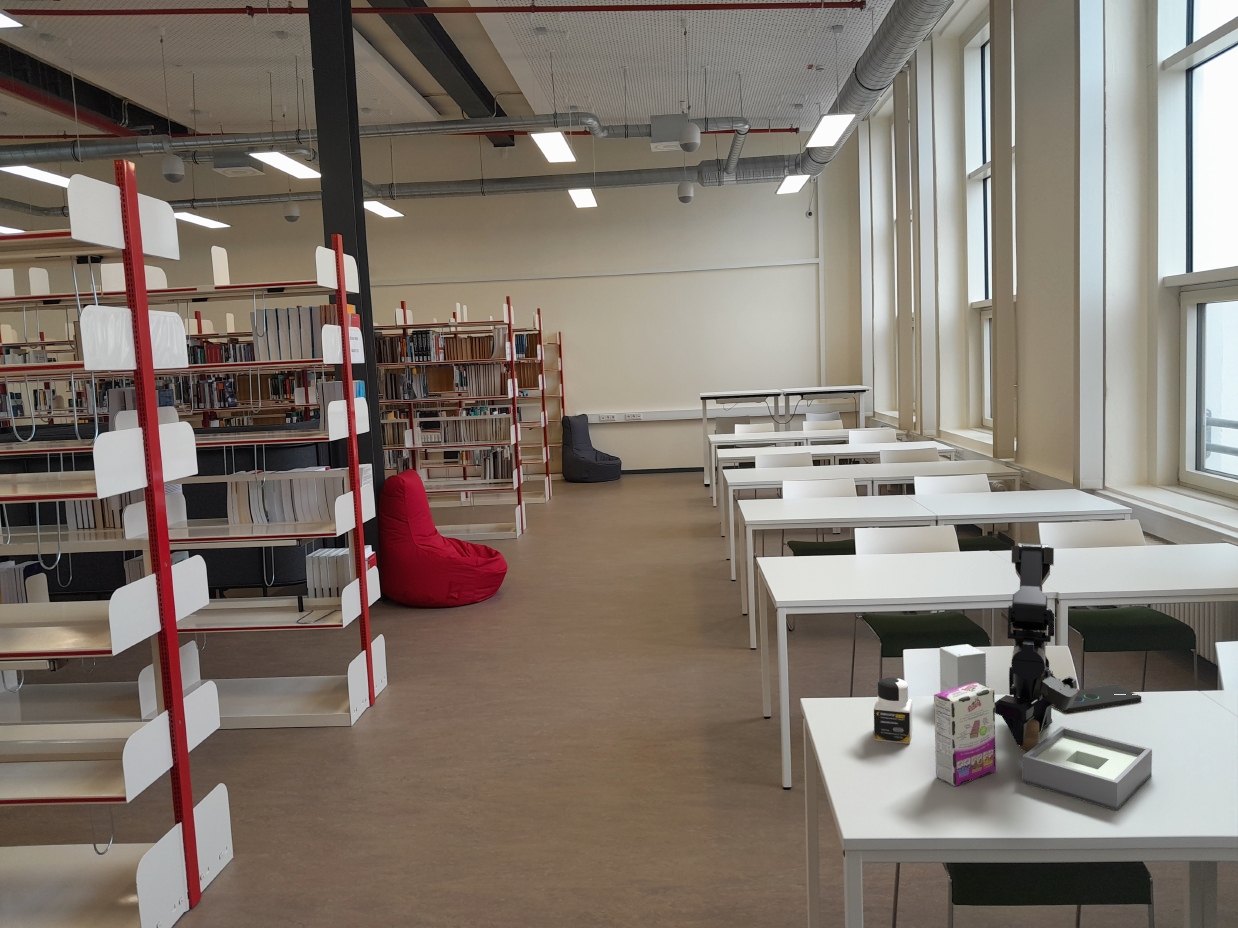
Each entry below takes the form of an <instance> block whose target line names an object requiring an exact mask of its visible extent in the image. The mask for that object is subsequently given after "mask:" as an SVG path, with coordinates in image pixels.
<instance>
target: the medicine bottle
mask: <svg viewBox="0 0 1238 928" xmlns="http://www.w3.org/2000/svg"><path fill="white" fill-rule="evenodd" d="M873 733H874V734H873V738H874V740H875V741H878V742H888V743H897V744H905V745H910V744H911V740H912V734H913V700H912V698H909V684H908V683H907V681H905V680H904V679H901V678H898V677H885V678H882V679H879V681H878V682H877V697H876V699H875V703H874V707H873Z"/></svg>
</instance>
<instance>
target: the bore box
mask: <svg viewBox="0 0 1238 928" xmlns="http://www.w3.org/2000/svg"><path fill="white" fill-rule="evenodd" d="M1021 757H1022V768H1021V769H1022V775H1021V777H1022V779H1021V780H1022V781H1021V782H1022V783H1024V784H1028V785H1031V786H1034V787H1039V788H1040V789H1044V790H1047V791H1051V792H1054V793H1057V794H1060V795H1064V796H1067V797H1070V798H1074V799H1077V800H1080V801H1083V802H1086V803H1091V804H1094V805H1097V806H1100V807H1103V808H1106V809H1110V810H1113V811H1119V809H1120V808H1121V807H1122V806H1124V804H1125V803H1126V802H1127V801H1128V800H1129V799H1130V798H1131V797H1132V796H1133V795H1134V794H1135V793H1136V792H1137V791H1138V790H1139V789H1140V787H1141V786H1143V784H1145V782H1146V781H1147V780H1148V779H1149V778H1150V777H1152V768H1153V767H1152V765H1153V761H1152V760H1153V749H1152V748H1149V747H1145V746H1141V745H1138V744H1133V743H1129V742H1127V741H1126V742H1125V741H1123V740H1117V739H1113V738H1109V737H1106V736H1102V735H1097V734H1094V733H1090V732H1086V731H1082V730H1078V729H1074V728H1070V727H1067V726H1059V727H1058V728H1057V729H1056V730H1054V731H1053V732H1051V734H1049V735H1048V736H1047V737H1045V738H1043V740H1042V741H1039V744H1037V745H1036V746H1035V747H1034V748H1032V749H1031V750H1030V751H1028V752H1026V753H1025V754H1023V755H1022V756H1021Z"/></svg>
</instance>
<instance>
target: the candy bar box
mask: <svg viewBox="0 0 1238 928" xmlns="http://www.w3.org/2000/svg"><path fill="white" fill-rule="evenodd" d="M995 702H996V701H995V688H993V687H990V686H987V685H986V686H985V685H981V684H980V683H975V682H974V683H971V684H967V685H964V686H961V687H957V688H954V689H951V690H948V691H944V692H941V693H940V692H938V693H935V694H934V695H933V704H934V705H933V707H934V708H933V709H934V734H935V735H934V741H935V742H934V744H935V747H934V748H935V777H936V778H937V779H939V780H941V781H943V782H945V783H947V784H950V785H951V786H954V787H958V786H960V785H963V784H967V783H968V782H971V781H973V780H976V779H979V778H982V777H985V776H986V775H989V774H993V773H994V772H996V771H997V770H996V769H997V766H996V765H997V761H996V760H997V759H996V755H997V753H996V717H995V716H996V713H995Z"/></svg>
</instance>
